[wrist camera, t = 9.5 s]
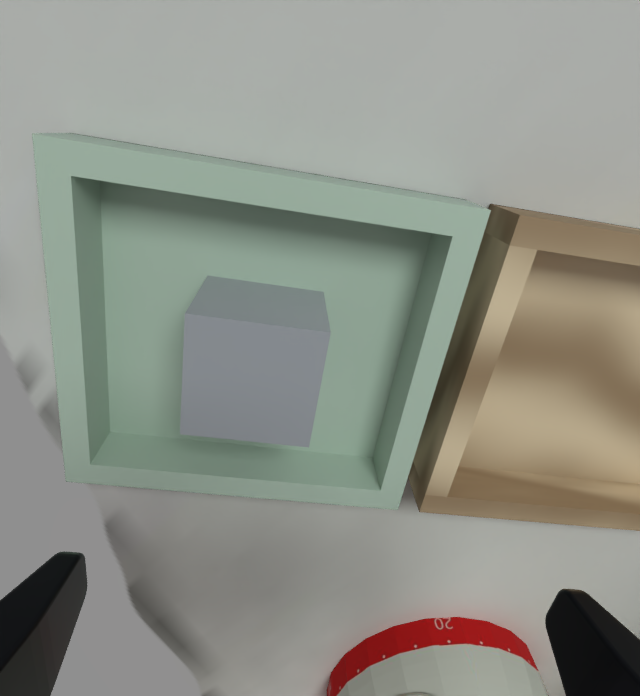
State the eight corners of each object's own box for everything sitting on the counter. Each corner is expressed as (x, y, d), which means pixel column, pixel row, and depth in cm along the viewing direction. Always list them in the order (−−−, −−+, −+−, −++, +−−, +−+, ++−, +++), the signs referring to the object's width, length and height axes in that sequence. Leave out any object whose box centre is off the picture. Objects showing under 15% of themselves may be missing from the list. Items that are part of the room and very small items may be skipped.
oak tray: (662, 497, 24) (699, 535, 22) (406, 473, 22) (419, 512, 20) (812, 258, 19) (883, 275, 16) (490, 203, 17) (519, 214, 15)
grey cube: (306, 389, 20) (309, 447, 16) (201, 377, 19) (179, 434, 16) (323, 291, 18) (330, 332, 14) (207, 275, 17) (184, 313, 14)
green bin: (387, 471, 22) (397, 510, 20) (90, 443, 21) (65, 481, 19) (464, 199, 17) (491, 210, 15) (70, 133, 15) (32, 133, 13)
